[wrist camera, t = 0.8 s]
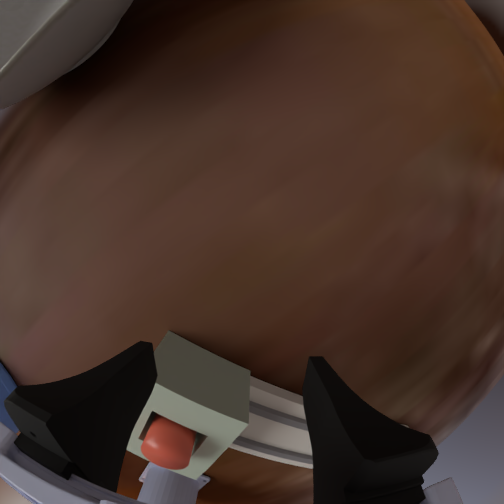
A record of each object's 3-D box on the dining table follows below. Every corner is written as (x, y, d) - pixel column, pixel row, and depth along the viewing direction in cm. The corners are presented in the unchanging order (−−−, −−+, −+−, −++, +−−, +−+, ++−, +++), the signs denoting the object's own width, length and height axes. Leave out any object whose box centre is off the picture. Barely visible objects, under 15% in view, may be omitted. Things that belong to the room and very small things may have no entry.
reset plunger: (189, 441, 18) (180, 474, 14) (150, 423, 18) (136, 455, 14) (204, 419, 18) (196, 455, 14) (162, 400, 18) (147, 434, 14)
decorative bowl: (179, -56, 15) (161, -110, 3) (201, 77, 19) (158, -19, 7) (21, 25, 16) (-20, -1, 4) (-2, 174, 20) (-75, 172, 8)
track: (360, 469, 25) (372, 505, 18) (138, 399, 23) (113, 442, 17) (410, 422, 24) (432, 457, 17) (168, 330, 22) (139, 373, 15)
